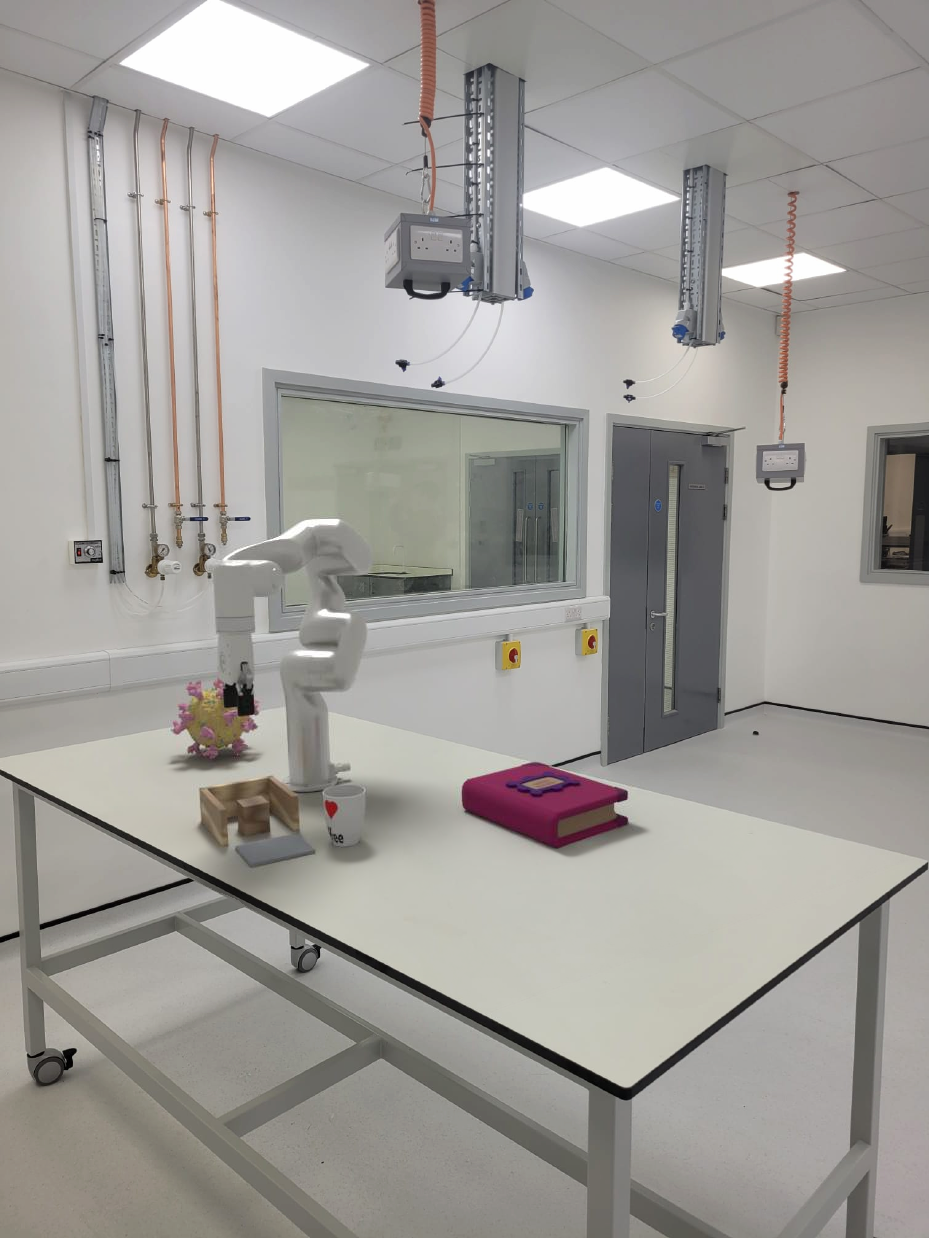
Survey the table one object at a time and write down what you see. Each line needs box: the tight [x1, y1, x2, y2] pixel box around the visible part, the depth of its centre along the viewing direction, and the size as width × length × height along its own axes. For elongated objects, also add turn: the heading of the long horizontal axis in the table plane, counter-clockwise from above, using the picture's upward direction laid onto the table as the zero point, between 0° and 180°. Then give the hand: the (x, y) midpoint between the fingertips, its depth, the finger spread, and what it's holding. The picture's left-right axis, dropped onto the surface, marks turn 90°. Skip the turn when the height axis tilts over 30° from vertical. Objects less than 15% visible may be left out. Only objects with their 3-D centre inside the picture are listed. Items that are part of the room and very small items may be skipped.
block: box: [236, 796, 271, 837], centre depth 173 cm, size 5×5×6 cm
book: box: [461, 761, 629, 849], centre depth 177 cm, size 21×28×8 cm
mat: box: [235, 832, 316, 868], centre depth 162 cm, size 12×10×1 cm
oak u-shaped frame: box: [198, 775, 301, 847], centre depth 176 cm, size 15×16×7 cm
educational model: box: [169, 677, 261, 760], centre depth 228 cm, size 23×22×20 cm
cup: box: [322, 784, 367, 848], centre depth 166 cm, size 8×8×10 cm
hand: (238, 711), depth 173 cm, fingers open, 9 cm apart
